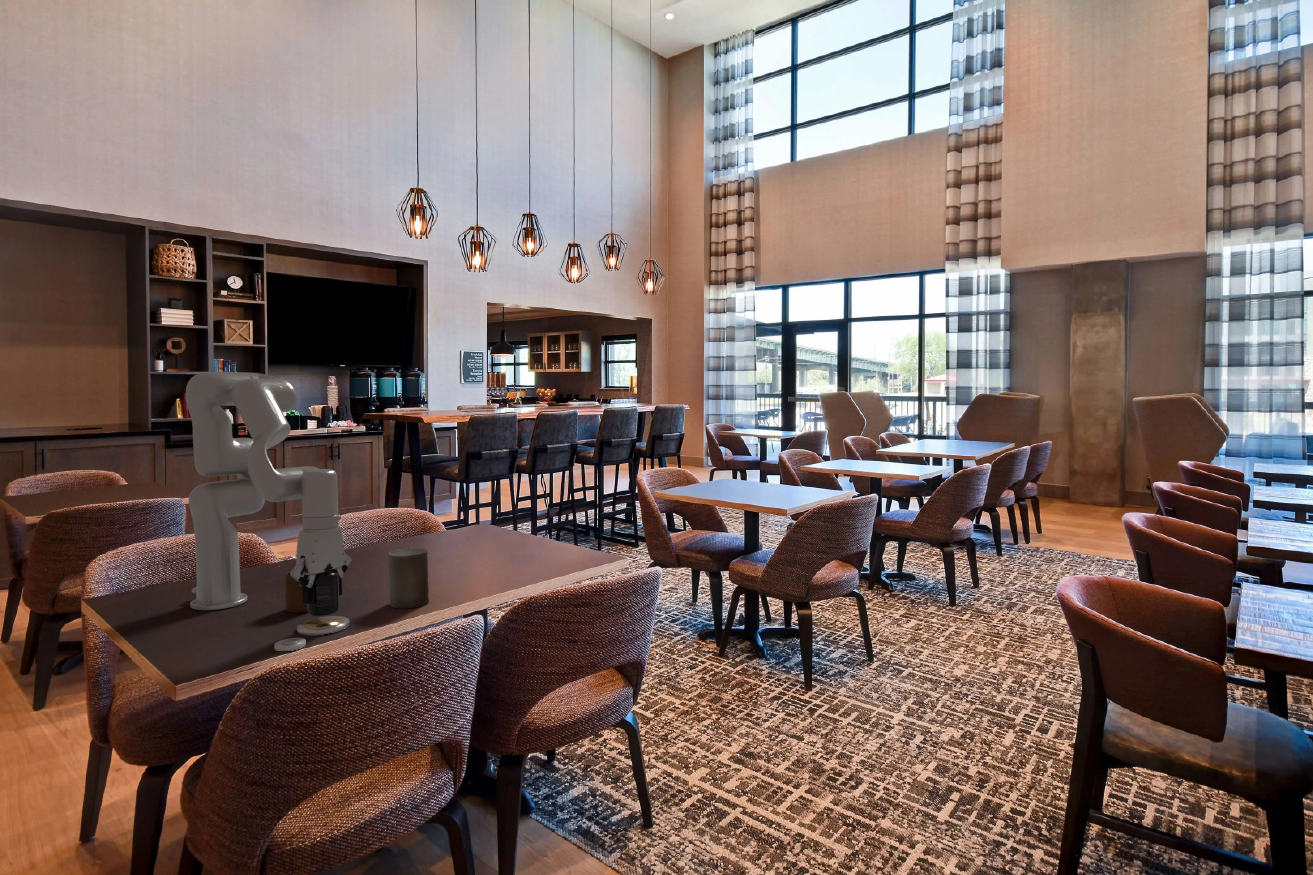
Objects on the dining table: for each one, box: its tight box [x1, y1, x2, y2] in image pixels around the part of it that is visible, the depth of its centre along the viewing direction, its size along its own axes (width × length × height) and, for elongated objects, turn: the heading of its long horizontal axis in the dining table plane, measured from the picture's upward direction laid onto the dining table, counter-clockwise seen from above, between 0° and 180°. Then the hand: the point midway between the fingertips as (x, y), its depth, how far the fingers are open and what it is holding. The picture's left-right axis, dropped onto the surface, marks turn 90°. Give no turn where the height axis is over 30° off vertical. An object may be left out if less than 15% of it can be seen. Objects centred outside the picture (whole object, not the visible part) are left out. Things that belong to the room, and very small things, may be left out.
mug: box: [284, 570, 308, 614], centre depth 181 cm, size 12×8×9 cm, turn 134°
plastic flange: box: [274, 637, 307, 652], centre depth 153 cm, size 6×6×1 cm
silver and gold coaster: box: [296, 615, 350, 637], centre depth 166 cm, size 11×11×1 cm
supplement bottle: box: [307, 563, 340, 617], centre depth 165 cm, size 7×7×12 cm
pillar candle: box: [387, 546, 430, 609], centre depth 185 cm, size 10×10×15 cm
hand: (322, 598), depth 165 cm, fingers closed on supplement bottle, 6 cm apart
